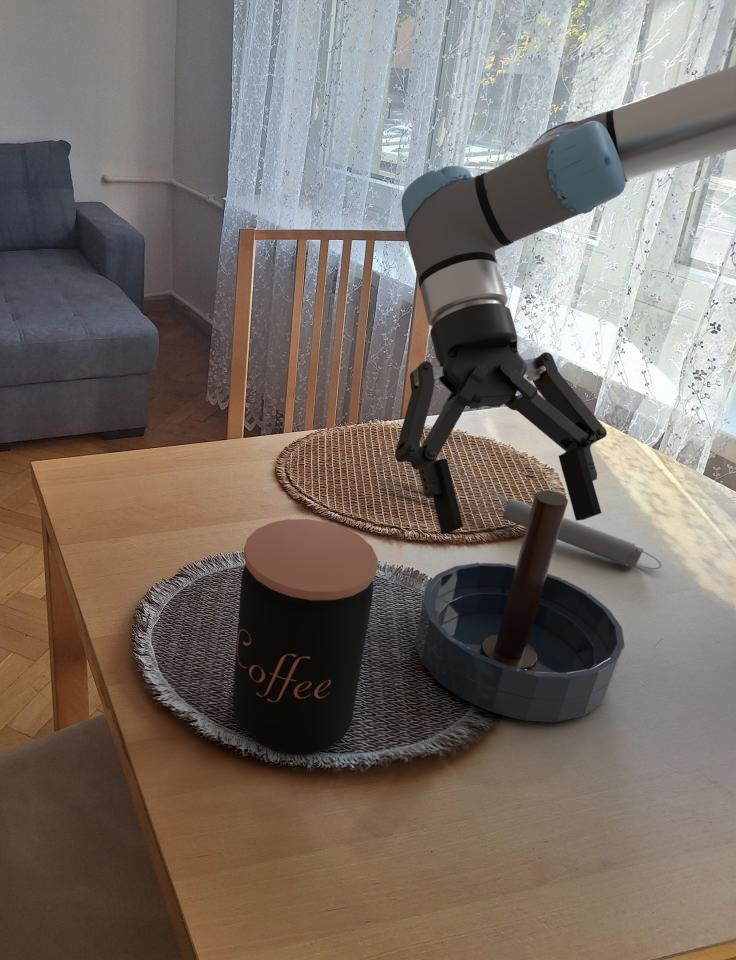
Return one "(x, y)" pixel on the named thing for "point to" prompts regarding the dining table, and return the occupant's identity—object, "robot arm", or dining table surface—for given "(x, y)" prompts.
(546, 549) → the stirring stick
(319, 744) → the coffee jar
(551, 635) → the bowl
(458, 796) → the dining table surface
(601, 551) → the kitchen whisk
